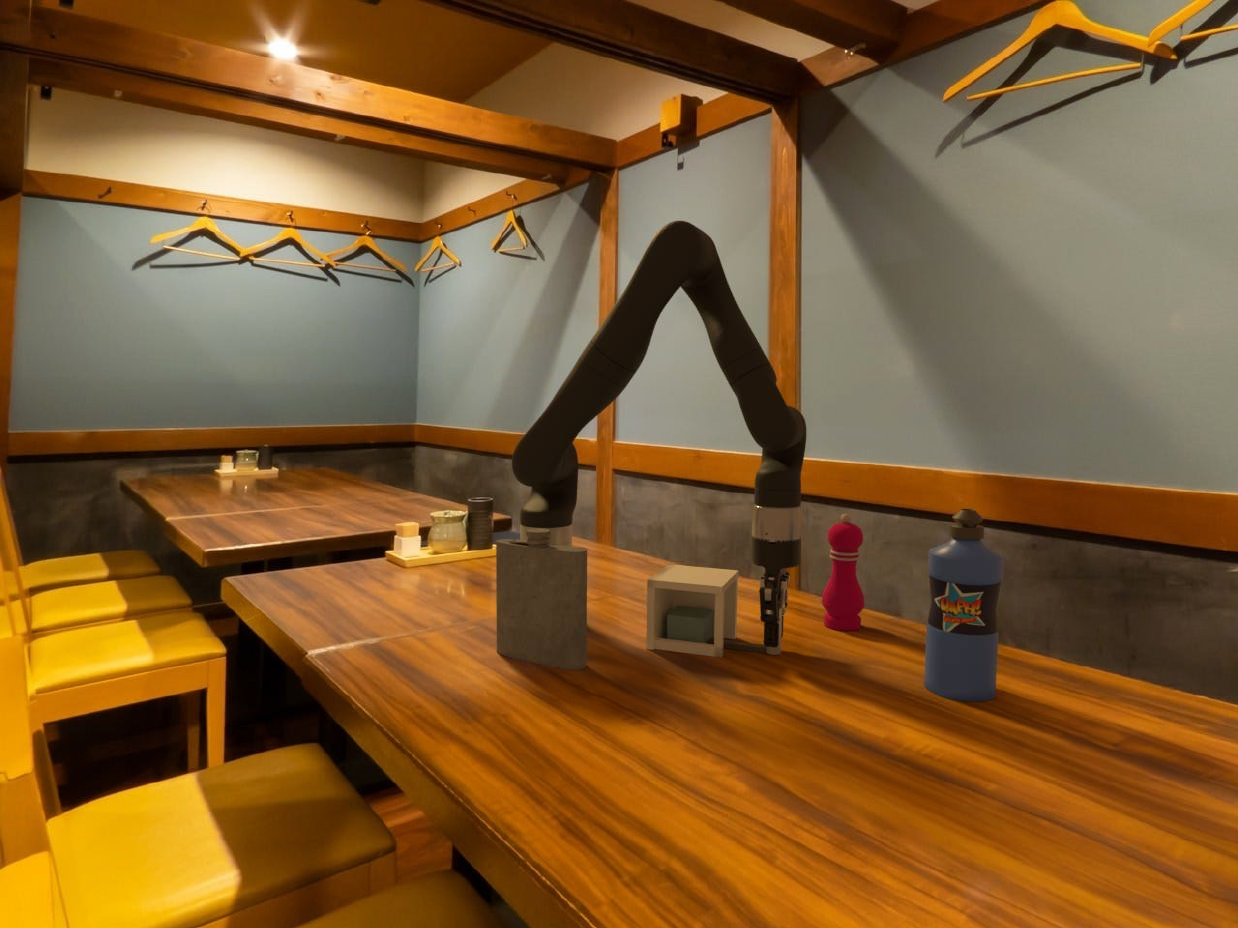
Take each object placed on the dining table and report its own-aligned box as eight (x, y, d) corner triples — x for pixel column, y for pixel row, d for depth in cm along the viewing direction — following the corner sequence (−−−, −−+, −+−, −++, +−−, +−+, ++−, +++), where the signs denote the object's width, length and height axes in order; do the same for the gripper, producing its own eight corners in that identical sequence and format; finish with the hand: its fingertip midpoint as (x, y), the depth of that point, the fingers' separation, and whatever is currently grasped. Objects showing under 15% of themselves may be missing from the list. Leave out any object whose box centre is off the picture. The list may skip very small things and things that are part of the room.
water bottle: (992, 707, 100) (1002, 516, 97) (916, 692, 104) (924, 510, 102) (1000, 685, 107) (1009, 508, 105) (929, 672, 112) (937, 503, 110)
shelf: (646, 648, 122) (647, 579, 121) (668, 628, 133) (669, 564, 132) (720, 658, 117) (722, 586, 116) (737, 636, 129) (738, 570, 128)
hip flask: (590, 664, 114) (591, 531, 113) (575, 672, 111) (576, 536, 109) (505, 646, 122) (504, 522, 120) (488, 654, 118) (488, 526, 117)
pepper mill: (865, 633, 131) (870, 517, 129) (822, 630, 132) (825, 515, 131) (861, 621, 138) (865, 511, 136) (819, 618, 139) (823, 509, 138)
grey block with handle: (667, 645, 124) (667, 596, 123) (677, 634, 129) (678, 588, 128) (777, 659, 117) (779, 607, 117) (783, 647, 123) (785, 598, 122)
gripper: (760, 525, 127) (757, 627, 128) (743, 539, 114) (740, 653, 115) (806, 528, 124) (803, 632, 126) (794, 543, 111) (791, 659, 112)
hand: (773, 641), depth 120 cm, fingers open, 3 cm apart
